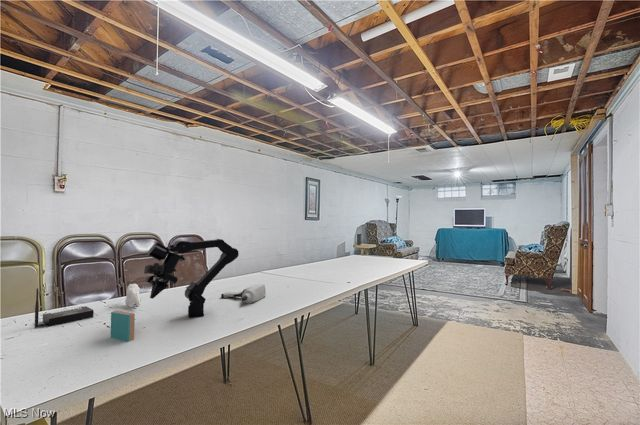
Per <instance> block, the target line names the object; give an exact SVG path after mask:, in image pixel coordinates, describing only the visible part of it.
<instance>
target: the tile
mask: <svg viewBox="0 0 640 425" xmlns="http://www.w3.org/2000/svg"><path fill="white" fill-rule="evenodd" d="M135 317H136V315H135V313H133V312H129V311H122V310H115V311H111V312H110V338H111V339H114V340H117V341H118V340H119V341H122V342H127V343H130V342H132V341H134V340H135V320H136V319H135Z"/></svg>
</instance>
